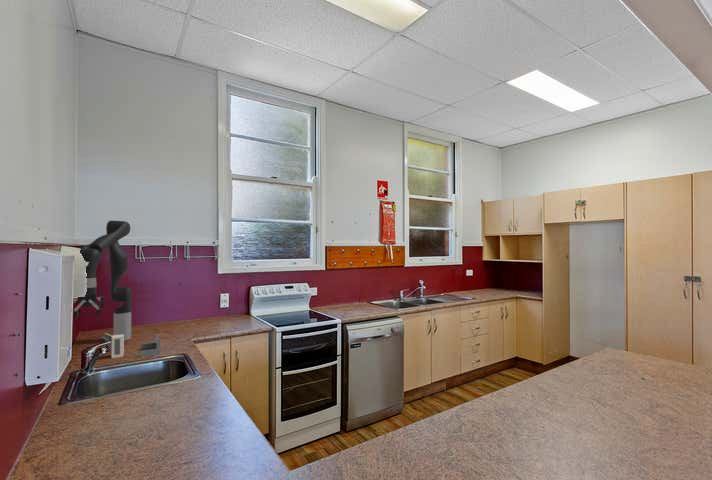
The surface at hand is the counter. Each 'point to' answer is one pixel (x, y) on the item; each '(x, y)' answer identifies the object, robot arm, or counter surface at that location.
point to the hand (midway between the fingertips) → (87, 317)
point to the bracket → (151, 345)
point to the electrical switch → (106, 339)
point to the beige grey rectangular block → (117, 346)
